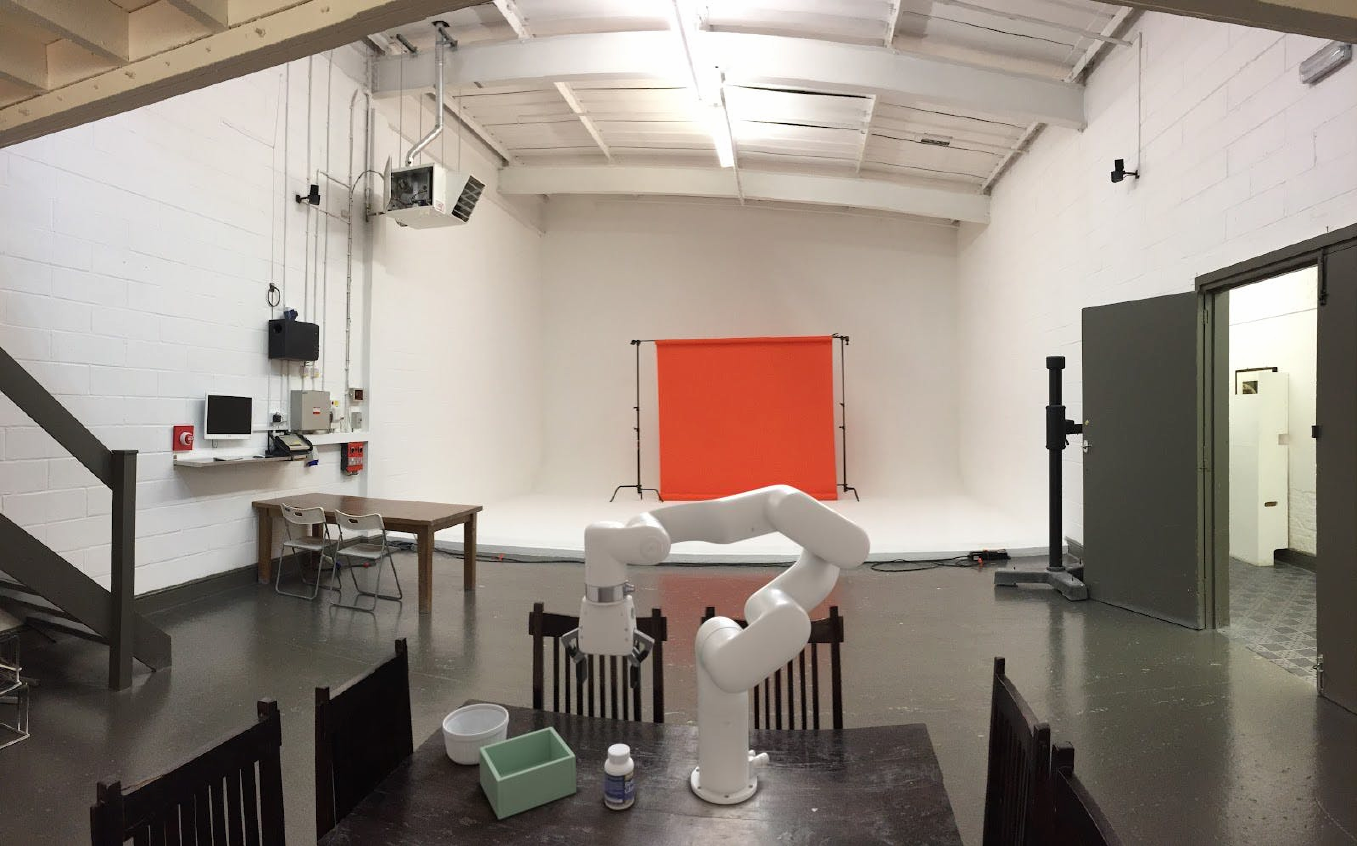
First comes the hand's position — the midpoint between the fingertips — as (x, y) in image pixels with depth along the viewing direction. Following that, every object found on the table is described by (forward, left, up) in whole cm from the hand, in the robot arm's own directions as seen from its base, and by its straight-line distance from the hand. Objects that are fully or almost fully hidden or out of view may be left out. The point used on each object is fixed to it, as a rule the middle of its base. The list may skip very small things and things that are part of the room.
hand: (608, 683), depth 119 cm
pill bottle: (-1, +2, -22) cm, 22 cm away
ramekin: (+17, -29, -22) cm, 40 cm away
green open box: (+12, -11, -22) cm, 27 cm away
